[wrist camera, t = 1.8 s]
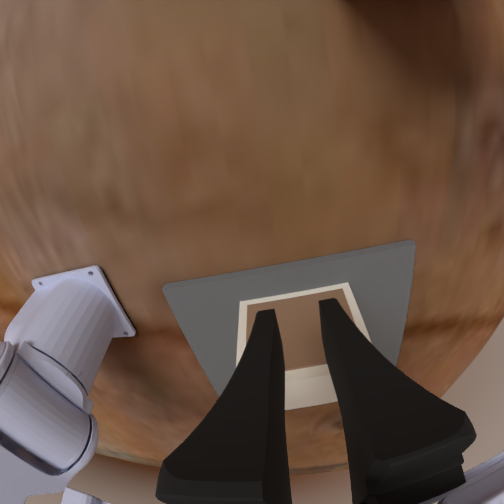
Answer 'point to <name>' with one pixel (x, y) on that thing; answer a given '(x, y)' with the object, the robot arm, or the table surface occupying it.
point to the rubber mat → (289, 281)
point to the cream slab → (301, 340)
